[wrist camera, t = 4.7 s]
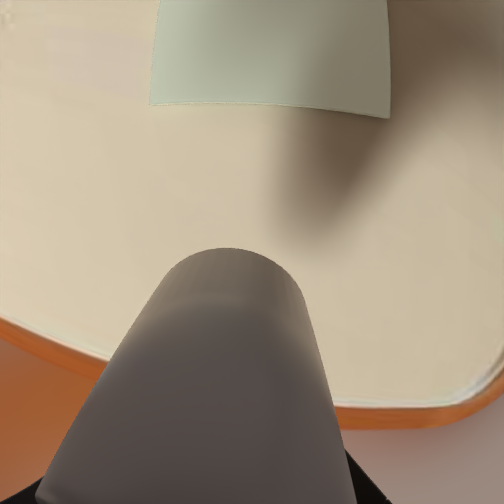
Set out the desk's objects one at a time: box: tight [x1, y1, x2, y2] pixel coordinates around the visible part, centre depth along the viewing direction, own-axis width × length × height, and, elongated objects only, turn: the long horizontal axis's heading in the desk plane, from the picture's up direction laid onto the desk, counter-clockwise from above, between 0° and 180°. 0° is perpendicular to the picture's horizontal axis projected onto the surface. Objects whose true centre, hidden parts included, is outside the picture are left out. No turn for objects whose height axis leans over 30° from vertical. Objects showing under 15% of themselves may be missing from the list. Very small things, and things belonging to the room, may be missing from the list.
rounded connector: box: [35, 248, 357, 504], centre depth 6 cm, size 4×11×6 cm, turn 178°
